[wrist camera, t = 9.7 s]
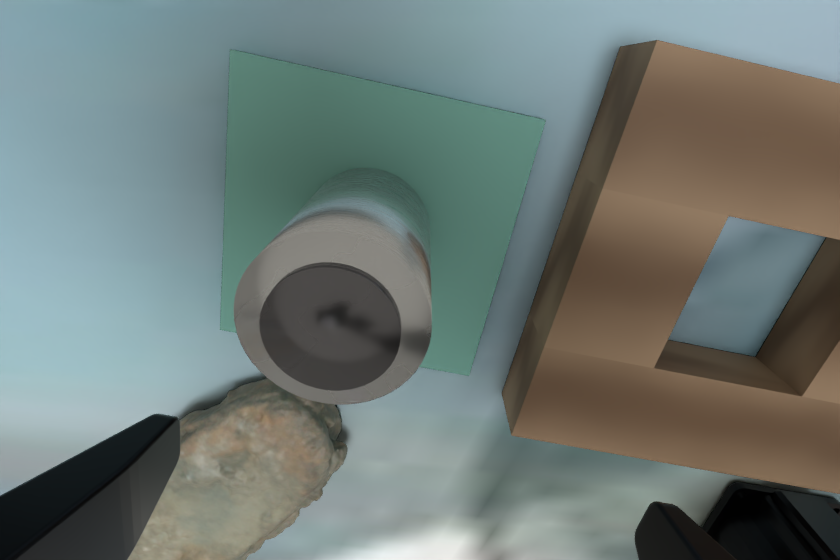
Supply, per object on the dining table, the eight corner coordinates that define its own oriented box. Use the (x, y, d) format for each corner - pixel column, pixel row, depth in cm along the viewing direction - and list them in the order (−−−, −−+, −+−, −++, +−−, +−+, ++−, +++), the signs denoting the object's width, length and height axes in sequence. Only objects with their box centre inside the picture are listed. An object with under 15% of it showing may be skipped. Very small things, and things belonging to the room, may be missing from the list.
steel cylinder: (417, 294, 21) (412, 426, 13) (301, 274, 20) (225, 397, 13) (441, 181, 18) (451, 258, 11) (312, 156, 18) (229, 217, 10)
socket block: (795, 447, 24) (841, 494, 21) (501, 393, 23) (511, 435, 20) (1010, 139, 18) (1115, 149, 15) (620, 46, 17) (657, 40, 14)
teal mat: (468, 370, 23) (469, 375, 22) (224, 324, 22) (220, 329, 21) (543, 119, 18) (545, 120, 17) (235, 50, 17) (229, 49, 17)
